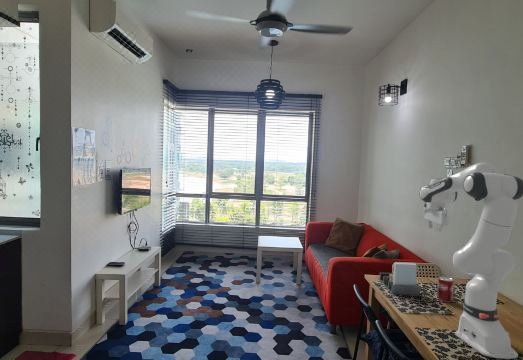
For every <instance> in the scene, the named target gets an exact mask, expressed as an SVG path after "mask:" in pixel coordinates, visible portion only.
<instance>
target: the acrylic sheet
mask: <svg viewBox="0 0 523 360" xmlns="http://www.w3.org/2000/svg"><path fill="white" fill-rule="evenodd" d="M417 270H418V264H416V263H415V262H413V263H412V262H410V263H409V262H393V273H394V274H393V285H412V286H417V274H418V273H417V272H418V271H417Z"/></svg>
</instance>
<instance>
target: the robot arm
mask: <svg viewBox="0 0 523 360" xmlns="http://www.w3.org/2000/svg"><path fill="white" fill-rule="evenodd" d="M418 192H419V195H418V196H419V198H420V199H421V201H423V202H424V203H423V213H422V215H423V218H424V219H425V220H426V222H427V225H428V226H427V228H428V229H432V228H433V223H435V224H437V225H438V227H436V232H439V233H441V232H442V230H443V227H444V226H447V225H448V224H449V214H448V213H449V212H448V211H447V209H446V204H451V203H454V202H455V201H456V200H457V198H458V192H459V193H462V192H463V193H466V194H467V195H468V196H469V197H472V198H473V199H474V200H475V201H477V202H479V201H482V202H483V209H482V211H481V214H480V218H479V221H478V224H477V227H476V229H475V232H474V234H473V235H472V237H471V238H470V239H469V241H468V242H467V243H466V244H465V245H463V247H462V248H460V249H458V250H456V251H455V252H454V253H453V256H452V264H453V266H454V268H455V269H456V270H457V271H458V272H459V273H461V274H465V275H469V276H473V278H472V279H470V280H469V281H468V282H467V283H466V285H465V294H464V300H463V303H462V310H463V311H462V314H461V315H460V317H459V321H458V322H459V323H458V329H457V330H456V331H455V333H454V335H455V336H456V337H457V338H459V339H460V340H462V341H463V342H465V343H466V344H467V345H469V346H470V347H472V348H473V349H474V350H476V351H477V352H479V353H480V354H481V355H482V356H487V357H489V358H496V359H506V360H509V359H517V358H518V357H519V354H518V352H517V351H516V350H515V349H514V348H513V347H512V346H511V338H510V332H508V331H506V330H505V328H504V326H503V325H502V323H501V322H500V318H501V315H500V314H499V312H498V309H497V300H498V293H499V291H500V287H501V284H502V283H503V282H504V279H505V278H506V277H507V275H509V274H510V273H511V272H513V270H514V269H515V268H516V260H515V257H514V256H513V254H512V253H511V252H509V251H507V250H505V249H501V248H502V247H503V246H505V245H506V244H507V243H508V241H509V239H510V235H511V233H512V230H513V228H514V224H515V222H516V218H517V210H518V203H517V202H516V200H519V199H521V198H522V197H523V179H522V178H520V177H518V176H515V175H512V174H506V173H504V174H501V173H497V170H496V169H495V167H494V166H493V165H492V164H491V163H488V162H479V163H475V164H472V165H470V166H468V167H466V168H464V169H463V170H461V171H459V172H456V173H455V174H451V175H449V176H447V177H444V178H432V179H431V180H430V183H429V184H424V185H422V187H420V189H419V191H418Z"/></svg>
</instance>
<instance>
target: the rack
mask: <svg viewBox="0 0 523 360" xmlns="http://www.w3.org/2000/svg"><path fill="white" fill-rule="evenodd" d="M389 274H394V272H379V277H378V280H379V281H380V282H381V284H382V285H383V286H384V287H385V288H386V289H387V290H388V291H389V292H390V294H391V295H407V294H409V296H411V295H412V296H414V295H415V296H420V295H421V286H420V285H416V286H412V285H393V281H389Z"/></svg>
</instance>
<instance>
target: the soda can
mask: <svg viewBox="0 0 523 360" xmlns="http://www.w3.org/2000/svg"><path fill="white" fill-rule="evenodd" d="M454 283H455V282H454V279H453V278H451V277H449V276H439V277H438V280H437V293H436V297H437V299H438V300H439V301H440V302H443V303H452V302H453V299H454V298H453V296H454V295H453V294H454V293H453V292H454Z"/></svg>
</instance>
